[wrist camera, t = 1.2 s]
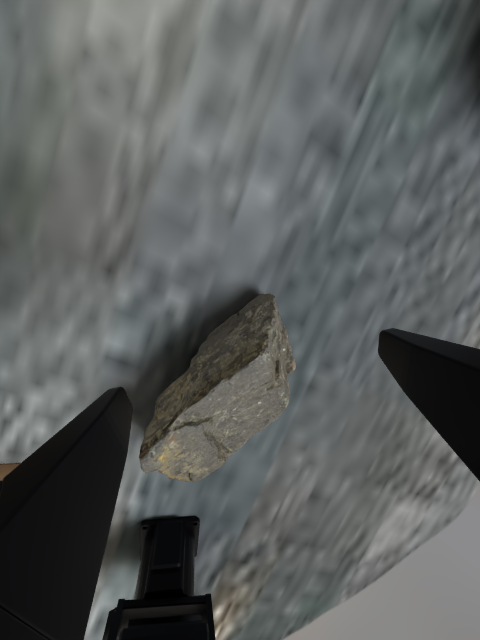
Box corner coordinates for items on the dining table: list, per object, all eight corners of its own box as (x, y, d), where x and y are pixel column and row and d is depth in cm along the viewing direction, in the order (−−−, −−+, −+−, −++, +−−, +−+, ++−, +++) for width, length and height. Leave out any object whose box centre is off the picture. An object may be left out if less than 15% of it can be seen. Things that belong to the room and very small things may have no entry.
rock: (232, 497, 23) (118, 500, 18) (212, 434, 29) (121, 422, 23) (353, 349, 19) (251, 296, 14) (303, 308, 24) (217, 259, 19)
